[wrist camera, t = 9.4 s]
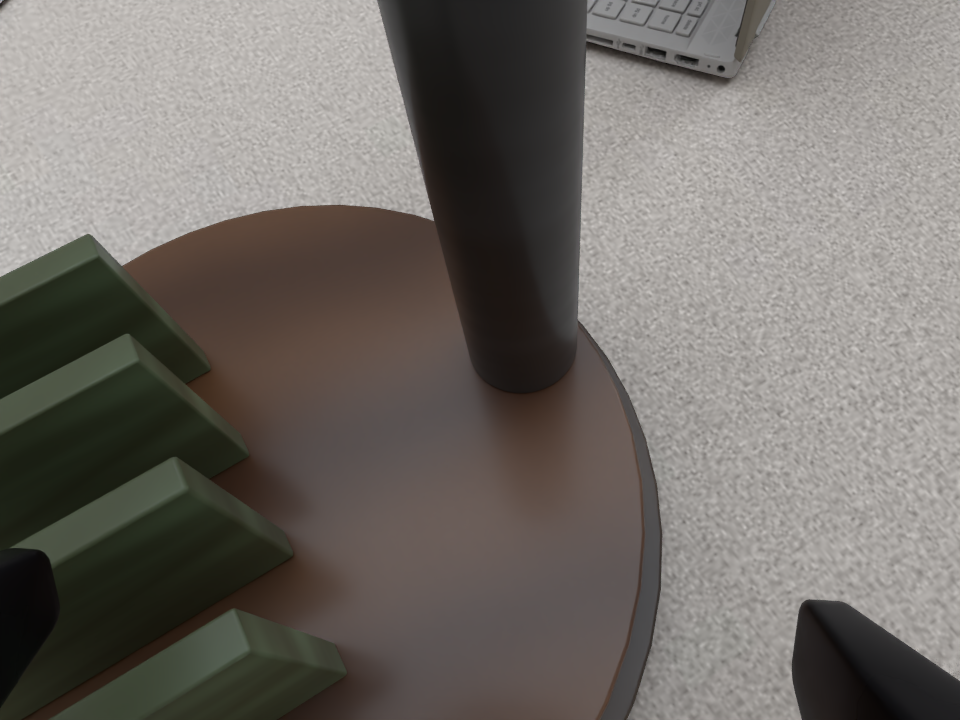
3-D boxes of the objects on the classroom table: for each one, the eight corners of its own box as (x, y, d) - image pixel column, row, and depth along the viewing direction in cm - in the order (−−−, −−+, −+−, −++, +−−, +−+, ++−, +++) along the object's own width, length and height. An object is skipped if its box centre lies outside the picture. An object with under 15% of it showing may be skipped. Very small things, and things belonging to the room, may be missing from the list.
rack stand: (675, 1057, 12) (683, 1082, 11) (-197, 921, 15) (-246, 934, 14) (646, 239, 20) (650, 217, 20) (92, 239, 23) (73, 220, 22)
